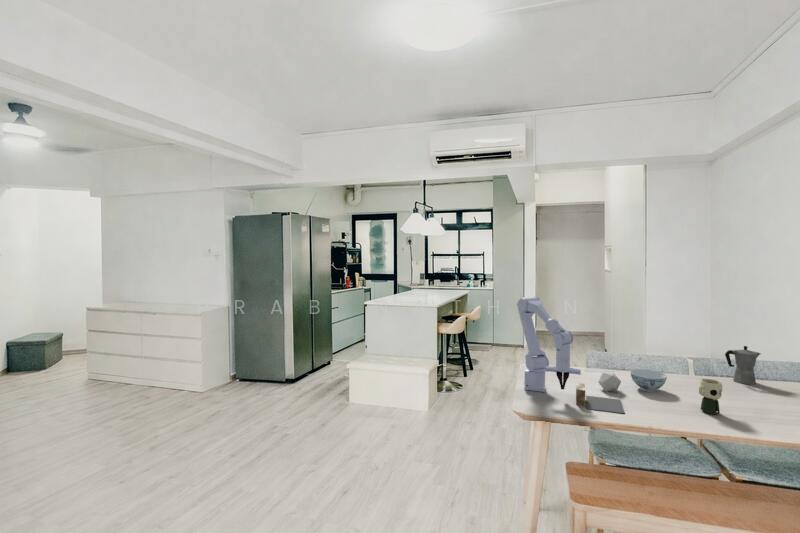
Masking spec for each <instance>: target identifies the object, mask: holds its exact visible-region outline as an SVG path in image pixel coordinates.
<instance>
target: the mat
mask: <svg viewBox="0 0 800 533" xmlns="http://www.w3.org/2000/svg"><path fill="white" fill-rule="evenodd" d="M585 402H586V410H590V411H597V412H606V413H607V412H608V413H613V414H614V413H615V414H623V415H625V409H624V406H623V403H622V399H619V398H611V397H604V396H603V397H602V396H594V395H593V396H592V395H585Z"/></svg>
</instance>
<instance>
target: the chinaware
mask: <svg viewBox="0 0 800 533" xmlns="http://www.w3.org/2000/svg"><path fill="white" fill-rule="evenodd" d="M629 373H630V376H631V380H632V381H633V383H634V384H635V385H636V386H637V387H639V390H641V391H643V392H646V393H655V392H656V391H657V390H659V389H660V388H662V387H663V386H664V385H665V383H666V381H667V378H668V375H667V374H665V373H664V372H662V371H659V370H653V369H646V368H645V369H644V368H635V369H631V370H630V371H629Z"/></svg>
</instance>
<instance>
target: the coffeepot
mask: <svg viewBox="0 0 800 533" xmlns="http://www.w3.org/2000/svg"><path fill="white" fill-rule="evenodd" d="M730 355H734V359H735V365H736V367H735V365H734V364H732V360H731V357H730ZM760 355H761V353H760V352H757V351H753V350H749V349H748V346H747V345H744V346H743V349H734V350H733V349H732V350H731V349H729V350H727V351H726V352H725V353H724V356H725V359H726V361H727V362H726V363H727V364H728V367H730V368H731V367H732V368H733V367H735V370H734V374H733V377H732V381H734V383H738V384H741V385H749V386H750V385H751V386H754V385H756V384H757V381H756V380H757V379H756V374H755V370H754V369H755V368H754V367H755V365H756V361H757V358H758V357H759V356H760Z"/></svg>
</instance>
